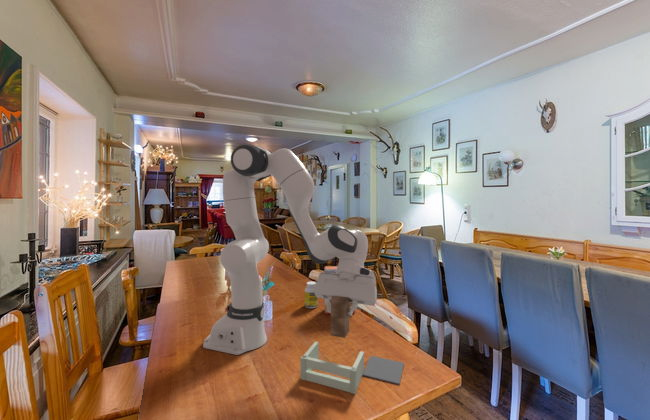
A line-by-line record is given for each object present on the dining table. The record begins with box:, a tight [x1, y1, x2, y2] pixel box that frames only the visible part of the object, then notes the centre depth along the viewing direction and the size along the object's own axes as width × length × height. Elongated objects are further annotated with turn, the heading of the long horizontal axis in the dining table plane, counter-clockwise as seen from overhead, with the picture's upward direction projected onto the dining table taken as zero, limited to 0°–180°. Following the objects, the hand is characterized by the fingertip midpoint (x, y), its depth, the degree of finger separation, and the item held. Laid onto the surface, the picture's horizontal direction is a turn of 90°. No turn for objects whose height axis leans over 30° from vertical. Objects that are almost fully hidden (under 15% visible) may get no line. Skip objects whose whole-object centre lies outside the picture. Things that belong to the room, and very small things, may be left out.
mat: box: [362, 355, 405, 386], centre depth 90 cm, size 11×11×1 cm
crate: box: [300, 341, 365, 395], centre depth 87 cm, size 17×10×6 cm, turn 68°
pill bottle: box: [304, 280, 319, 309], centre depth 140 cm, size 6×6×12 cm
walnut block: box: [330, 296, 350, 339], centre depth 88 cm, size 4×4×11 cm
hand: (339, 313), depth 87 cm, fingers closed on walnut block, 4 cm apart
